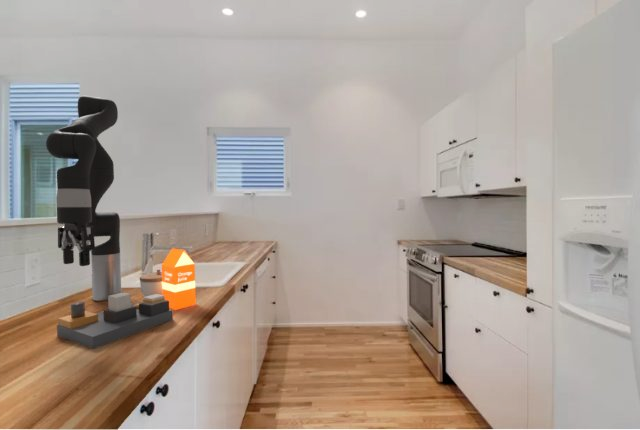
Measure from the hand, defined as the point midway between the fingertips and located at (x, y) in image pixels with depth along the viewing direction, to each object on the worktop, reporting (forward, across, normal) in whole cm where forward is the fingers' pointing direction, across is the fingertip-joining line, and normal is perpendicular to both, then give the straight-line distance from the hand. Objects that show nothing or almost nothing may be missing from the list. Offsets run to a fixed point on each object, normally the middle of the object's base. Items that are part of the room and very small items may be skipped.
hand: (76, 264), depth 86 cm
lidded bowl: (+19, +10, -32) cm, 38 cm away
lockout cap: (+16, 0, 0) cm, 16 cm away
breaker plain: (+14, -7, -7) cm, 17 cm away
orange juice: (+19, -4, -30) cm, 35 cm away
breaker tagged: (+16, -11, -15) cm, 24 cm away
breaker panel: (+19, -5, -8) cm, 21 cm away
